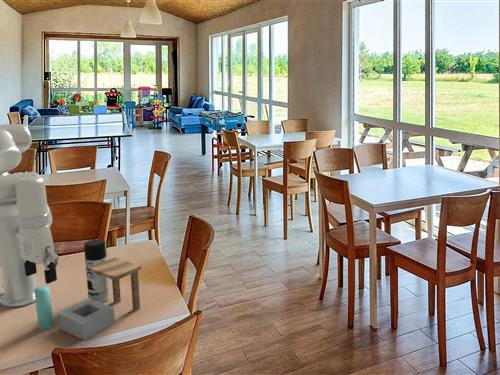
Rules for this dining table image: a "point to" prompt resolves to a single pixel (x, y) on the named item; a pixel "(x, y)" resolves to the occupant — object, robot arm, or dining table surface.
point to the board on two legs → (116, 271)
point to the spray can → (95, 282)
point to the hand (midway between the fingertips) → (41, 278)
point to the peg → (43, 307)
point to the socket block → (86, 318)
